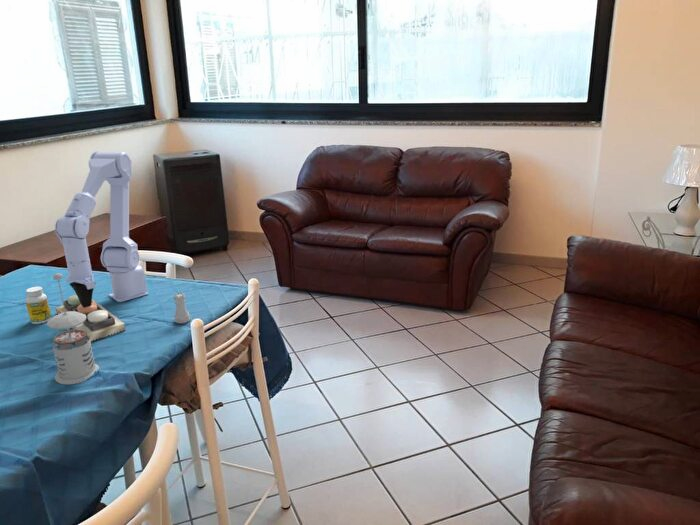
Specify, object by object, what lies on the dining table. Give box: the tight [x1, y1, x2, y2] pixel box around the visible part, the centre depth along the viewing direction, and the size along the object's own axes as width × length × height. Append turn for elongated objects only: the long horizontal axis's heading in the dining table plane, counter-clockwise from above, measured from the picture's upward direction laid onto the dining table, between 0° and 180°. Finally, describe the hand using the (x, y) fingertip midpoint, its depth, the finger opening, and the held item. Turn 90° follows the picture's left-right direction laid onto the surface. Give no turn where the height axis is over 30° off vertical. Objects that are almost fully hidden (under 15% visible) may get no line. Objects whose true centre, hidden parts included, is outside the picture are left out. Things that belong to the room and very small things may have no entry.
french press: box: [46, 272, 100, 385], centre depth 131 cm, size 10×12×25 cm
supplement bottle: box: [25, 286, 52, 325], centre depth 161 cm, size 5×5×10 cm
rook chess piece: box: [173, 292, 191, 325], centre depth 159 cm, size 4×4×8 cm
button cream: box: [87, 310, 109, 324], centre depth 154 cm, size 5×5×2 cm
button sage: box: [66, 293, 81, 307], centre depth 165 cm, size 5×5×2 cm
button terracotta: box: [77, 302, 98, 314], centre depth 160 cm, size 5×5×2 cm
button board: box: [55, 298, 126, 343], centre depth 161 cm, size 10×25×4 cm, turn 43°
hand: (86, 306), depth 160 cm, fingers closed, pressing on button terracotta
